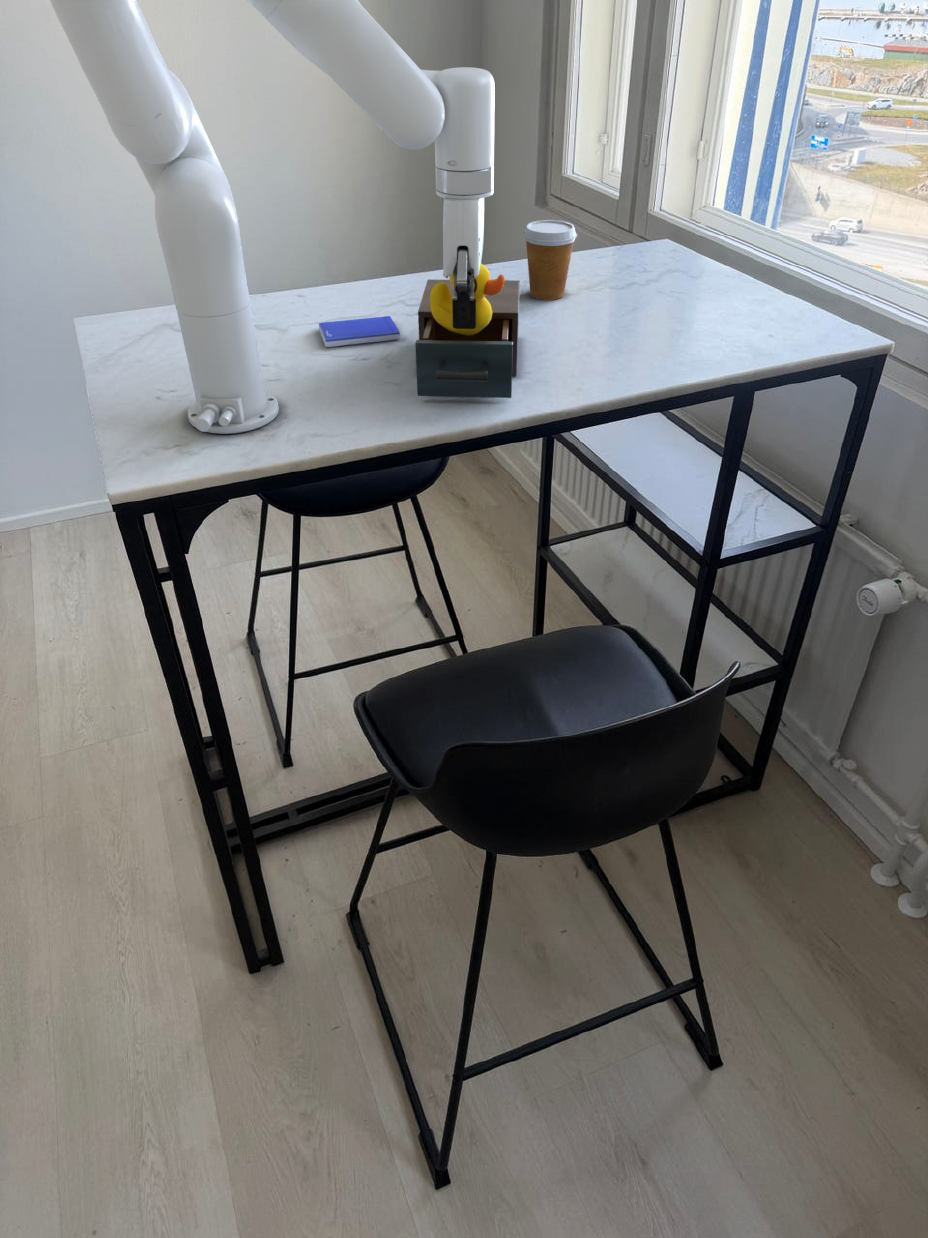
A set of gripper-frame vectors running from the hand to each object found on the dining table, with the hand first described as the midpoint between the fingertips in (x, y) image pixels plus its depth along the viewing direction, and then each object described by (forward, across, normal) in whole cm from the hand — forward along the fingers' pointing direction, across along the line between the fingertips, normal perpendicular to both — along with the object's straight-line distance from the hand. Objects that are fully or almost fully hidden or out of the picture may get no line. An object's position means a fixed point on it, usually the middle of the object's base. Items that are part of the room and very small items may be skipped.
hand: (465, 318), depth 123 cm
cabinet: (+10, -12, 0) cm, 16 cm away
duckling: (+2, 0, 0) cm, 2 cm away
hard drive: (+11, -20, -20) cm, 30 cm away
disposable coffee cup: (+11, -42, +12) cm, 45 cm away
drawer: (+10, +1, 0) cm, 10 cm away
